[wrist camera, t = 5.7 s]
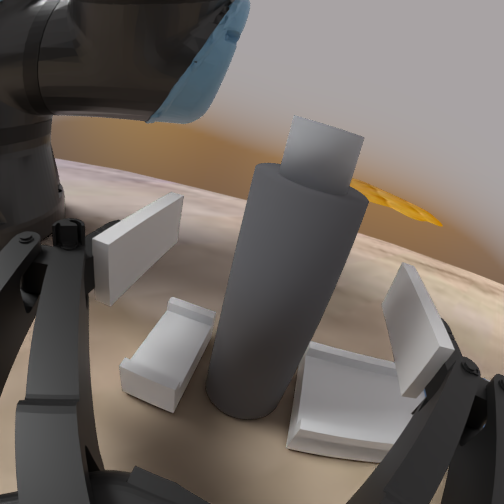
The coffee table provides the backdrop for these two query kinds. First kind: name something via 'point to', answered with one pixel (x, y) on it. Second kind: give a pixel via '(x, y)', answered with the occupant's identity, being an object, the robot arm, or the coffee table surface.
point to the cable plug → (285, 266)
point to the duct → (306, 391)
